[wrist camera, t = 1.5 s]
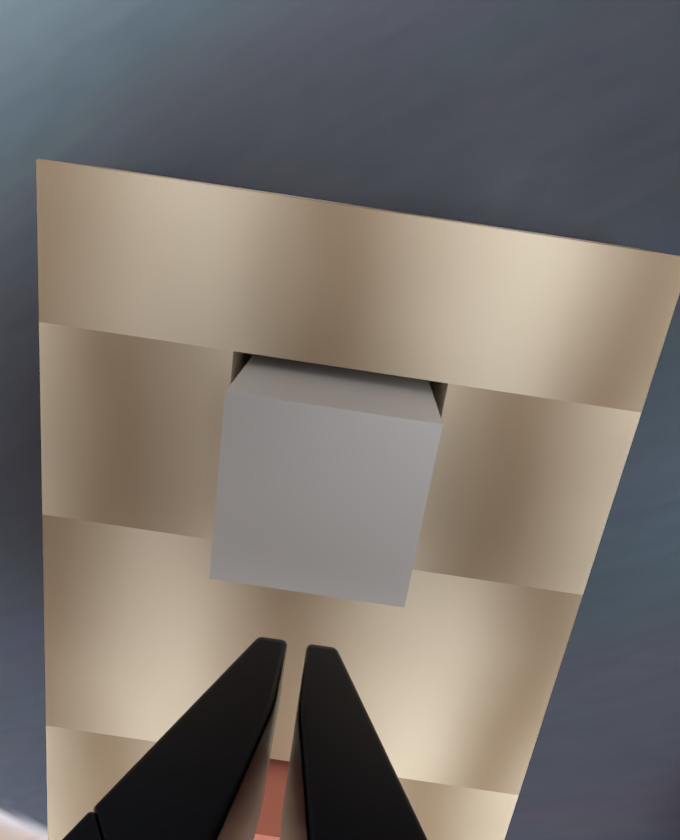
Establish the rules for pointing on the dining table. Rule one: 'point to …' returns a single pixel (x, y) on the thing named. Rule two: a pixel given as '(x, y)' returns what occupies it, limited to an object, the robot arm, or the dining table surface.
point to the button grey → (323, 479)
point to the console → (341, 347)
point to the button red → (272, 801)
